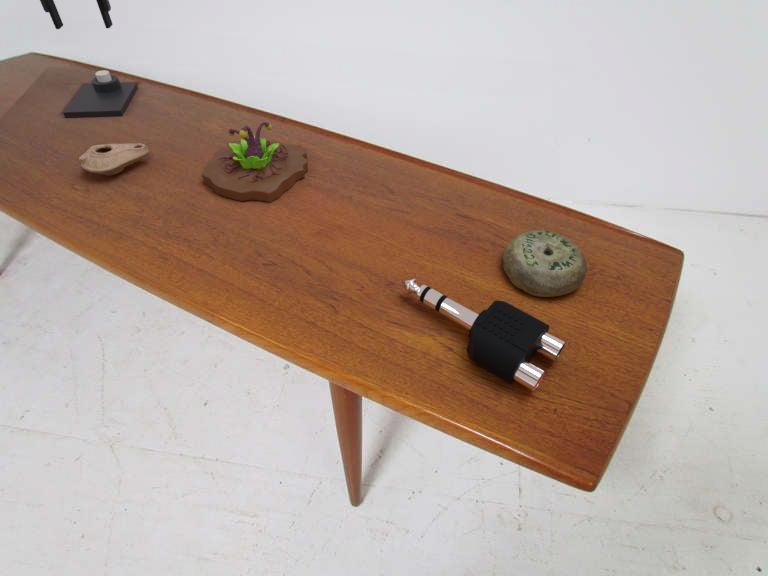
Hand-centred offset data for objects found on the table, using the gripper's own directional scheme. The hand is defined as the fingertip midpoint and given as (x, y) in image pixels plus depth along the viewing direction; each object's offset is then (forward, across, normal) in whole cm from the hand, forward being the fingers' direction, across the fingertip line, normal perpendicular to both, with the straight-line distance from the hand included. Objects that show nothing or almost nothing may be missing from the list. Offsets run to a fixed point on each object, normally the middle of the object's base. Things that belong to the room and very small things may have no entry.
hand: (84, 26), depth 117 cm
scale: (+16, 0, +6) cm, 17 cm away
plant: (+16, -40, +41) cm, 60 cm away
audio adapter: (+16, -74, +87) cm, 115 cm away
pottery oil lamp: (+16, -12, +38) cm, 43 cm away
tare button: (+13, 0, 0) cm, 13 cm away
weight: (+16, -89, +75) cm, 118 cm away
